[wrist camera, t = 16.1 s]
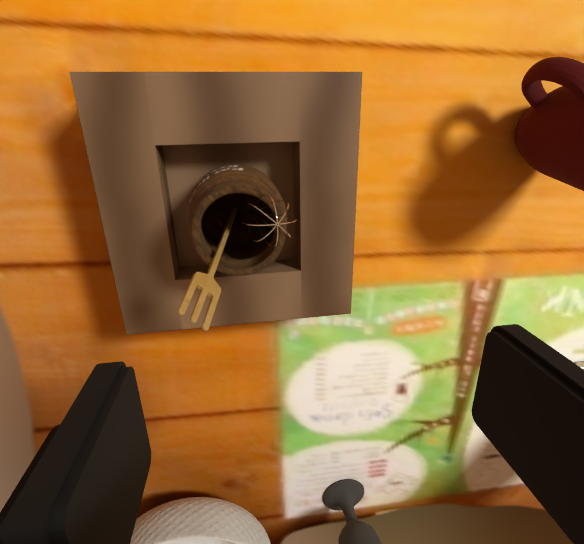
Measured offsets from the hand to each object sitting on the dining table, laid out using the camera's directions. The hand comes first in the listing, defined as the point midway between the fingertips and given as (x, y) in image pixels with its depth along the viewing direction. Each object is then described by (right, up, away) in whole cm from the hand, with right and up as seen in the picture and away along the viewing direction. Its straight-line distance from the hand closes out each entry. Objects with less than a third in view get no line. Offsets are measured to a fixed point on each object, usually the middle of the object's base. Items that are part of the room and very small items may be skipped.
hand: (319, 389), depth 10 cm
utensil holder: (-5, +8, +16) cm, 19 cm away
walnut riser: (-5, +9, +19) cm, 21 cm away
